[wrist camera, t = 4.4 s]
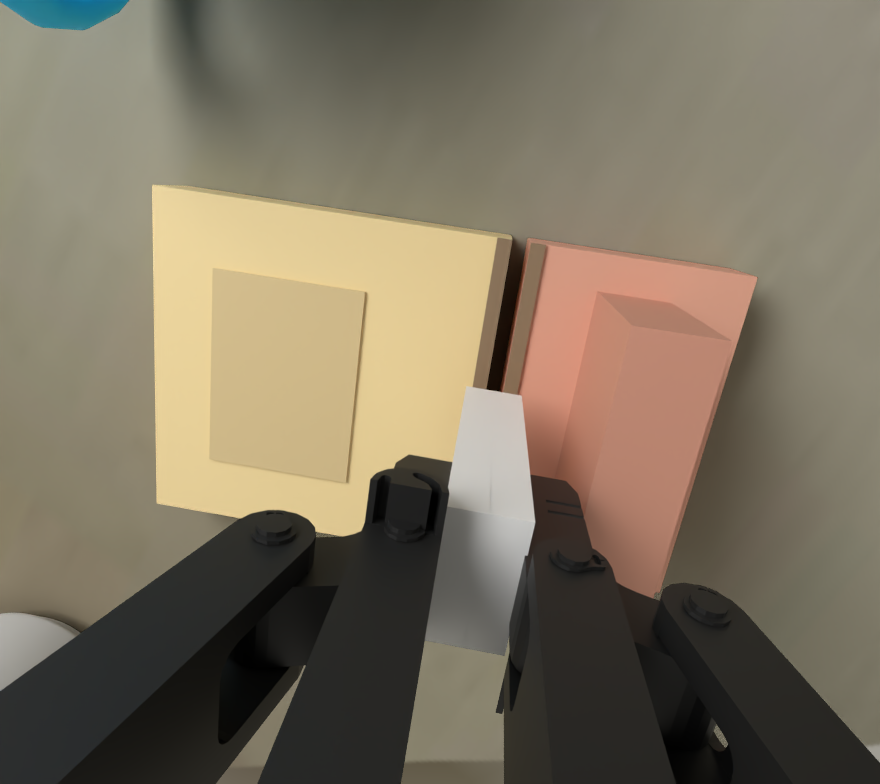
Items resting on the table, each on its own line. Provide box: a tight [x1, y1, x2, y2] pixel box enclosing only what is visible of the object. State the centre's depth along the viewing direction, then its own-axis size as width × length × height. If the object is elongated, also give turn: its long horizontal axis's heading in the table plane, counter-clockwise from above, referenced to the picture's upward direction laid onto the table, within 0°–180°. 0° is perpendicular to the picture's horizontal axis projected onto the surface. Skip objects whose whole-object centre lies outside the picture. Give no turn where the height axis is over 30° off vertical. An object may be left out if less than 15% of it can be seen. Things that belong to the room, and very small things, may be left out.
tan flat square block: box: [152, 185, 512, 536], centre depth 19 cm, size 10×10×2 cm
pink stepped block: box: [499, 238, 758, 598], centre depth 16 cm, size 10×6×6 cm, turn 172°
